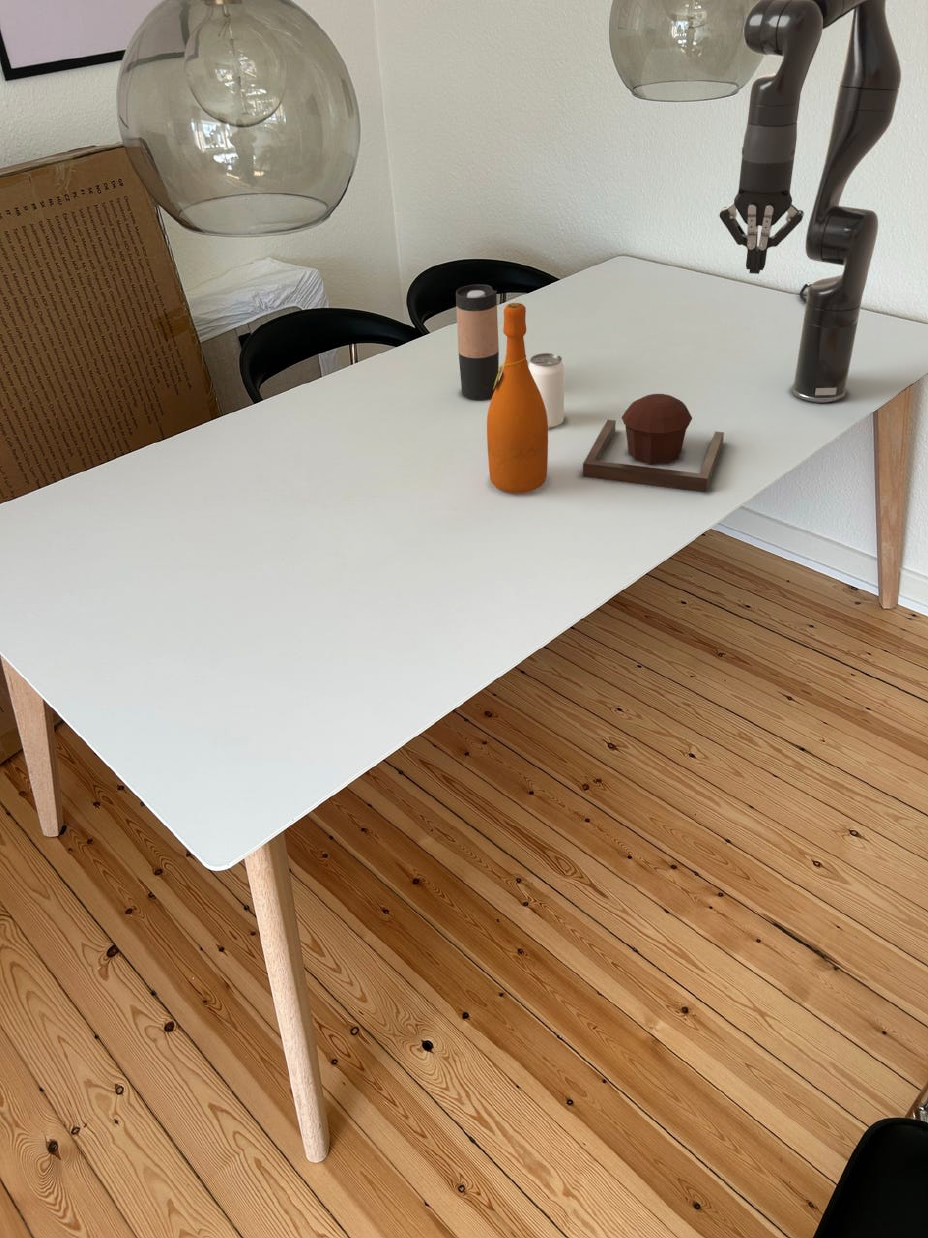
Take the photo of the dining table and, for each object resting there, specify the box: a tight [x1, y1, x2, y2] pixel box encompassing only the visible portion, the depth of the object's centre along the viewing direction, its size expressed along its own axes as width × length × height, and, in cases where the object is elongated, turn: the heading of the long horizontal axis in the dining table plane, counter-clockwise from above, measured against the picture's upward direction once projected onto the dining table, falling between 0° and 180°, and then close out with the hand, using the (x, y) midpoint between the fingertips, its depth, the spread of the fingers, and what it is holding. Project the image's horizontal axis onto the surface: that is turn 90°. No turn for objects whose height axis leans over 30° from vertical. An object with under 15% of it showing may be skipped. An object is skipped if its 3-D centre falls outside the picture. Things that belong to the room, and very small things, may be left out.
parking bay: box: [582, 419, 725, 493], centre depth 172 cm, size 17×20×2 cm
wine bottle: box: [486, 302, 549, 494], centre depth 161 cm, size 10×10×30 cm
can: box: [528, 352, 565, 429], centre depth 184 cm, size 6×6×12 cm
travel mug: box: [455, 284, 500, 401], centre depth 193 cm, size 8×8×20 cm
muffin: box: [621, 393, 693, 466], centre depth 172 cm, size 12×11×10 cm
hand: (754, 271), depth 161 cm, fingers closed
